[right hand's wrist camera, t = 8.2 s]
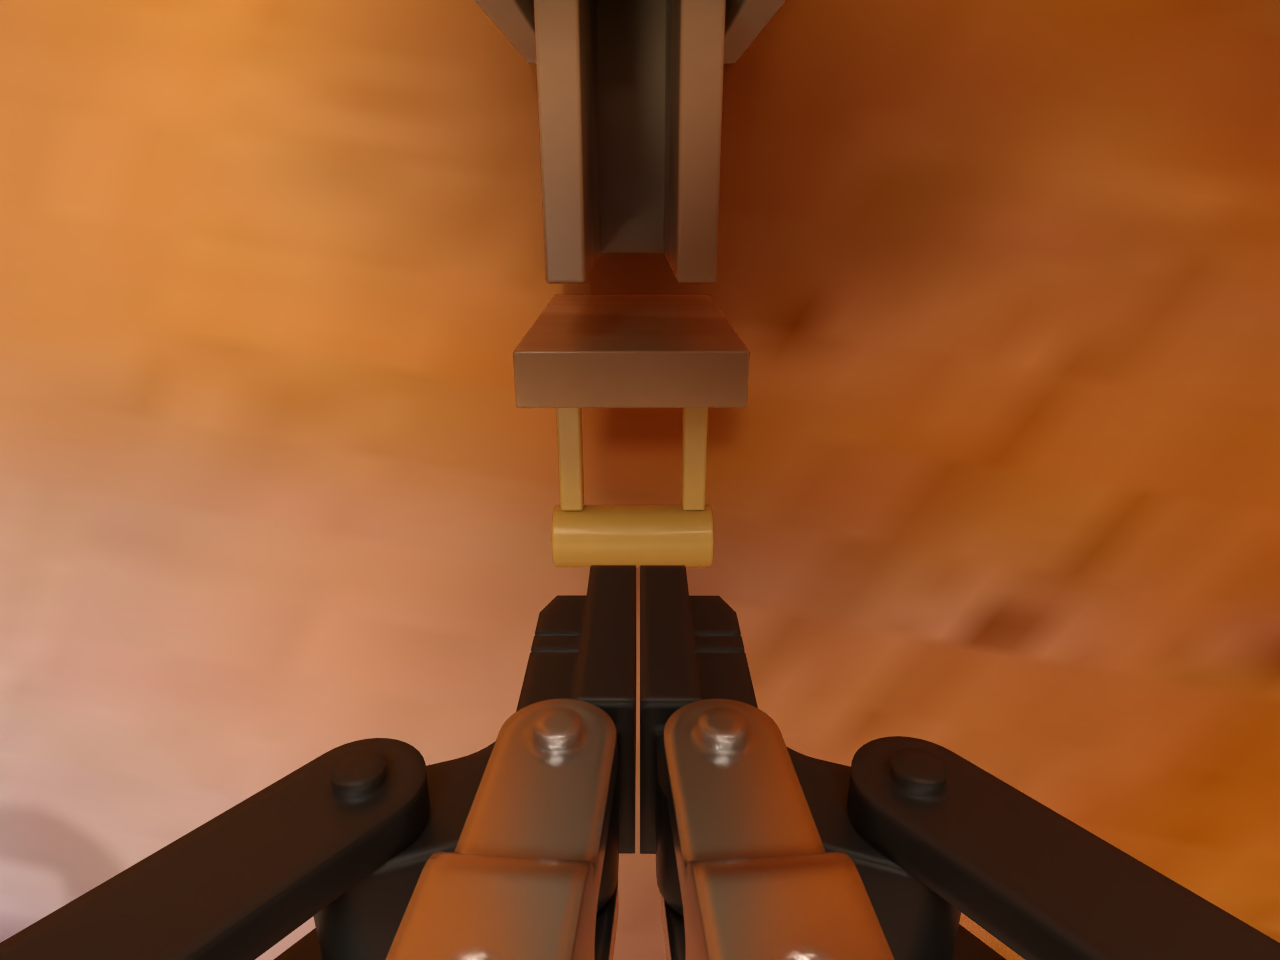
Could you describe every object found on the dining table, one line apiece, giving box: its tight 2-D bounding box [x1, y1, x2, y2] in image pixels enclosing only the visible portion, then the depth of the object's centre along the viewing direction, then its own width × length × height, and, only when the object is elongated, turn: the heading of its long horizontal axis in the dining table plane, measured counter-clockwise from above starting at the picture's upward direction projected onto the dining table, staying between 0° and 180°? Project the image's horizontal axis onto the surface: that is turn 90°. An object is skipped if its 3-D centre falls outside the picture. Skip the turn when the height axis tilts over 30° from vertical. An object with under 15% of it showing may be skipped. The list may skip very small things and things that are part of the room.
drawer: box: [513, 0, 750, 568], centre depth 18 cm, size 22×5×9 cm, turn 0°
